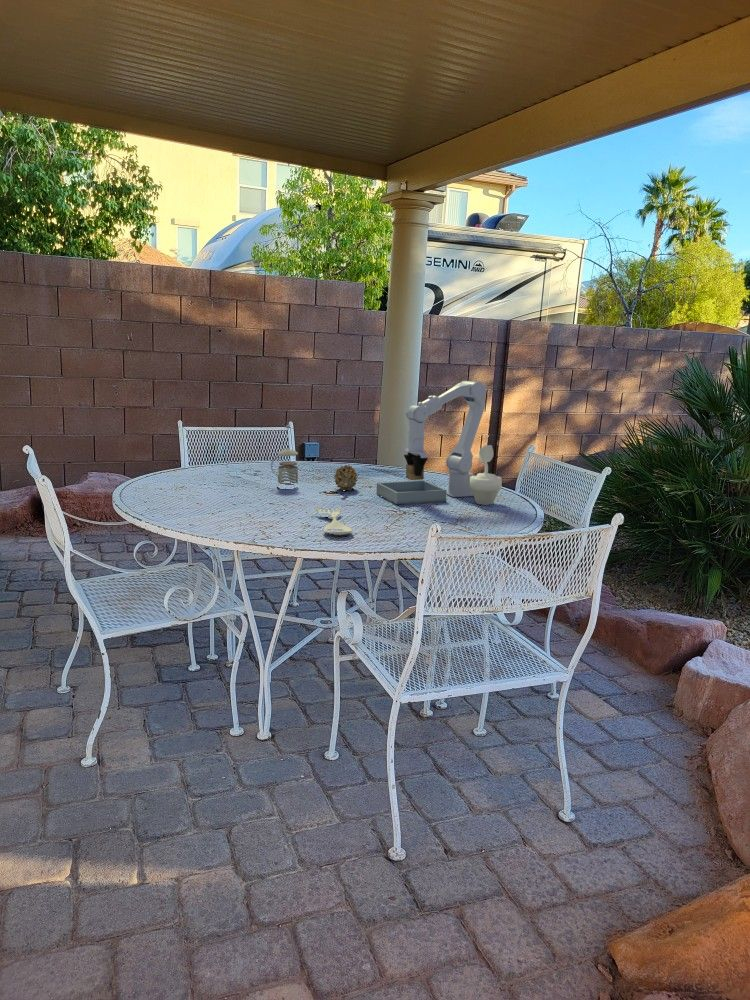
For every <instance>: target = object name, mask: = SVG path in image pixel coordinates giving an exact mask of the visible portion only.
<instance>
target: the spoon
mask: <svg viewBox="0 0 750 1000" xmlns="http://www.w3.org/2000/svg"><path fill="white" fill-rule="evenodd" d="M334 509H335V510H334ZM315 511H316V512H317V513H318V514H319V513H321V514H322V513H329V514H330V513H331V514H330V515H328V517H329V518H328V519H330V520H332V521H331V522H330V523H328V524H327V525H326V526H324V528H323V529H324V531H323V532H324V533H326V534H328V533H329V534H328V535H331V534H334V535H333V536H338V535H339V536H345V535H349V534H350V533H352V532H354V530H353V529H352V527H350V526H347V525H346V524H344V523H341V521H339V520H338V519H339V516H340V515H341V512H342V506H339V508H338V507H335V508H332V510H330V509H329V508H327V510H325V508H322V509H321V507H319V508H318V506H315ZM331 511H332V512H331ZM334 514H335V515H334ZM338 515H339V516H338ZM333 528H334V529H343V530H344V531H336V532H330V531H327V530H326V529H333Z"/></svg>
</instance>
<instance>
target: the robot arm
mask: <svg viewBox="0 0 750 1000" xmlns="http://www.w3.org/2000/svg"><path fill="white" fill-rule="evenodd" d="M486 395H487V389H486V387H485V385H484V383H483V382H481V381H469V380H462V381H461V382H459V383H457V384H456V385H454V386H452V387H451V388H450V389H448V390H446V391H445V392H443V393H441V394H440V395H438V396H436V395H428V396H427V398H426V399H424V400H423V401H419V402H418V403H417V405H415V404H414V405H410V406H409V407H408V409H407V412H406V413H405V415H406V418H407V420H408V443H407V444H408V446H407V447H405V450H404V453H406V454H403V456H404V457H403V458H404V459H405V461H406V465H411V464H414V468H415V476H421V474H422V471H423V467H424V468H425V465H426V463H427V461H428V457H427V455H428V454H427V453H428V452H426V451H425V450H424V449H425V447H424V446H425V443H424V442H425V422H426V421H427V420H428V417H429V416H431V415H433V414H435V413H437V412H439V411H441V410H442V409H443V408H442V407H443V405H445V404H447V403H449V402H451V401H453V400H455V399H456V398H459V397H461V398H463V400H464V401H466V403H467V405H468V407H469V409H468V412H467V415H466V417H465V418H466V419H465V421H464V424H463V427H462V430H461V433H460V436H459V438H458V442H457V445H456V446H455V447H454V448H452V449H451V451H450V454H449V455H447V458H446V459H445V464H446V467H447V469H448V472H449V473H448V474H449V476H448V491H447V492H446V496H449V497H452V498H460V497H462V498H464V497H474V494H473V490H472V489H471V488H470V477H471V476H473V475H474V473H473V472H472V471H471V469H472V468H473V457H474V455H473V453H472V451H471V450H472V447H473V444H474V441H475V438H476V436H477V432H478V430H479V426H480V423H481V420H482V417H483V414H484V411H485V408H486ZM470 471H471V472H470Z"/></svg>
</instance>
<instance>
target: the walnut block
mask: <svg viewBox="0 0 750 1000" xmlns="http://www.w3.org/2000/svg"><path fill="white" fill-rule="evenodd" d="M405 465H406V466H405V468H406V469H405V478H406V479H407V480H409V481H422V480H424V479H425V477H424V476H425V475H424V474H425V466H424V467H423V471H422V474H421V476H415V468H414V464H411V465H407V464H405Z"/></svg>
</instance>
